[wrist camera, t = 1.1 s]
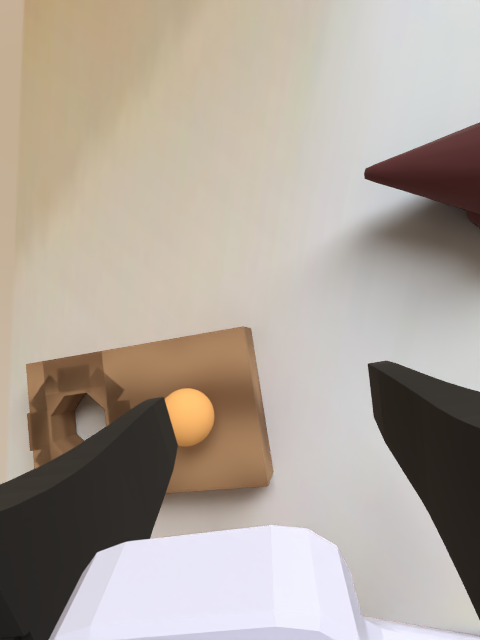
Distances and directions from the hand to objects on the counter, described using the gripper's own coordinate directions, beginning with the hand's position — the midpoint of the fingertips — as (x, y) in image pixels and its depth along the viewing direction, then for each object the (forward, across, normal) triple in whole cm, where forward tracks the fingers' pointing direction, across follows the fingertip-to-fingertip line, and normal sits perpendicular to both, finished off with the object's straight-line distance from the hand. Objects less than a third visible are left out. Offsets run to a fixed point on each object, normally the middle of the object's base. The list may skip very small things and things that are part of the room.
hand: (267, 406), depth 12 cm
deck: (+12, +10, +6) cm, 16 cm away
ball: (+8, +6, +4) cm, 10 cm away
